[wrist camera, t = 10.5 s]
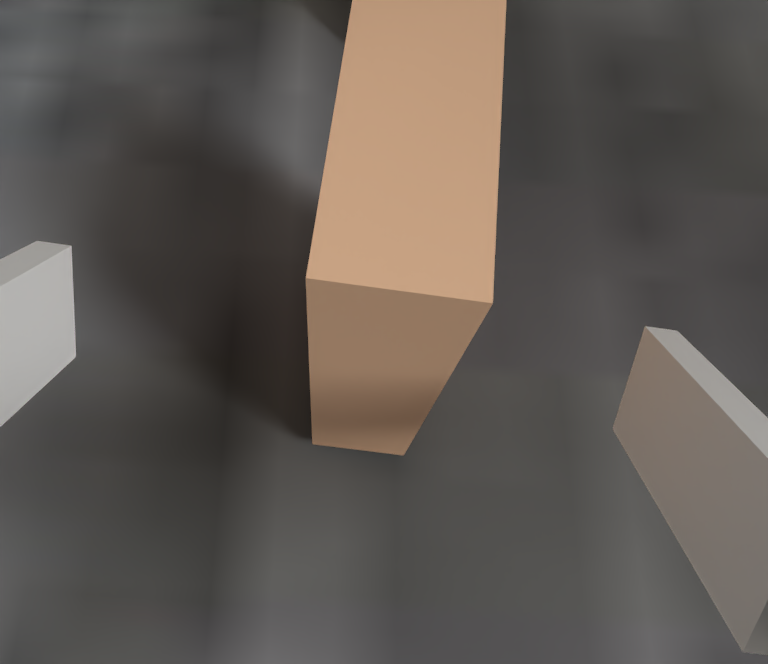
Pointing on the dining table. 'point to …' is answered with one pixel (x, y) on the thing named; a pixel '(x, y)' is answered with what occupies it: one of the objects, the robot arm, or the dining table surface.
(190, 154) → the dining table surface
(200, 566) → the dining table surface
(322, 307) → the tan rectangular block
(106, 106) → the dining table surface
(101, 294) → the dining table surface
